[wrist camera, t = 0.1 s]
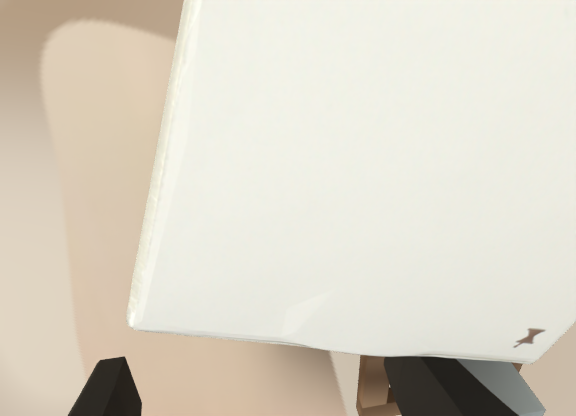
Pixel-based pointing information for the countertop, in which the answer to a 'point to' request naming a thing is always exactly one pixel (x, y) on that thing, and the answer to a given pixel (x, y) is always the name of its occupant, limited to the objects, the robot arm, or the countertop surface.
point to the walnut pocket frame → (378, 388)
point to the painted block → (505, 385)
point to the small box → (366, 178)
